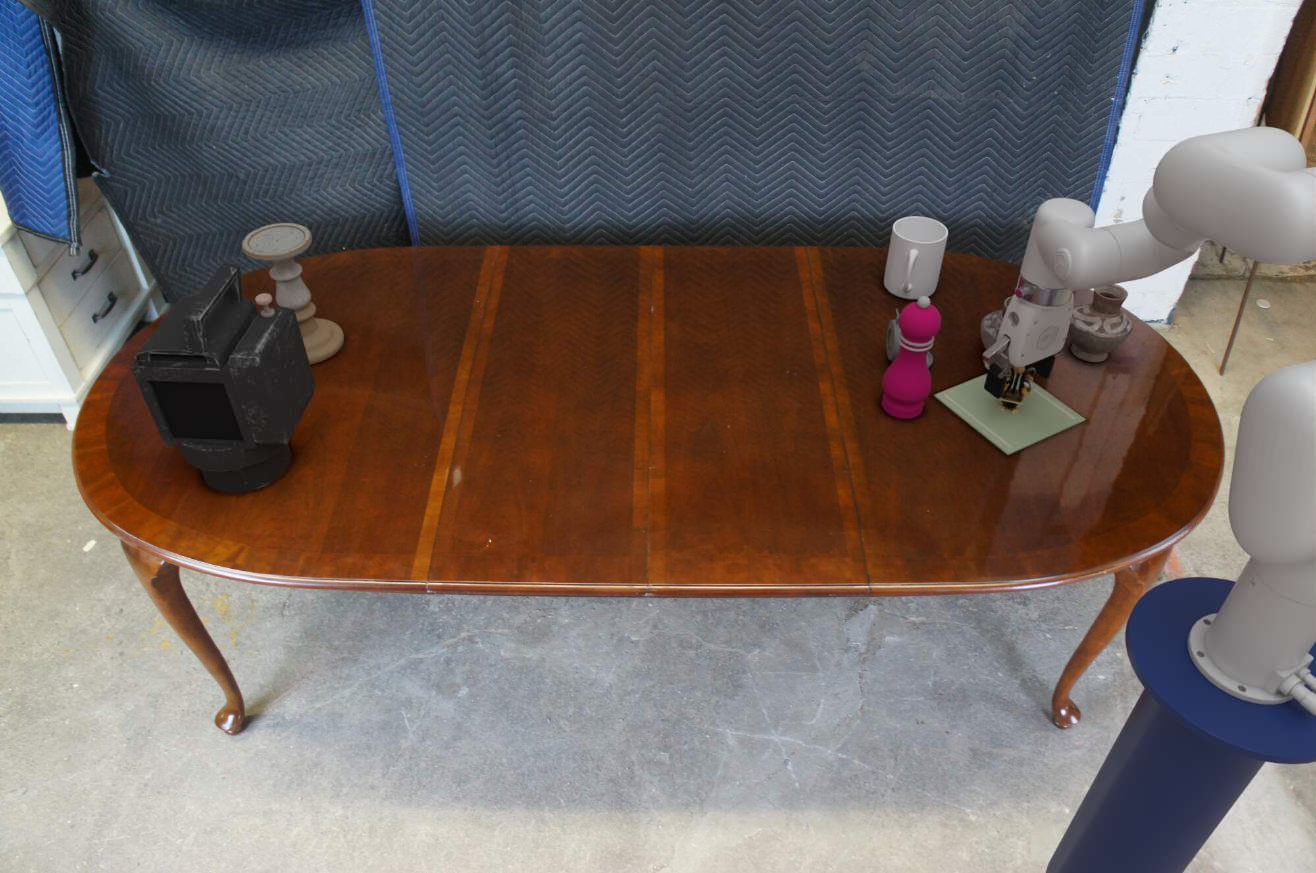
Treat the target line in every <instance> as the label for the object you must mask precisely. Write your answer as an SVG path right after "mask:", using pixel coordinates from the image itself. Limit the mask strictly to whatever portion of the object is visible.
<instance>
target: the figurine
mask: <svg viewBox="0 0 1316 873" xmlns="http://www.w3.org/2000/svg"><path fill="white" fill-rule="evenodd" d="M1003 366H1004V365H1003ZM1015 370H1016V372H1017V375H1016V378H1015V381H1014V376H1015V371H1014V367H1013V366H1012V367H1011V375H1010V371H1008V372H1007V373H1006V375H1005V376H1007V378H1010V379H1009V380H1007V381H1006V385H1005V388H1004V392H1003V395H1002V397H1001V398H999V399H1000V400H1001V401H1000V403H1002V404H1003V405H1001V406H999V408H1000V409H1001V410H1002V411H1005V410H1008V409H1009V411H1011V412H1012V413H1016V412H1018V410H1017V408H1016V407H1018V406H1019V404H1023V400H1024V395H1029V394H1030V392H1031V391H1032V389H1033V384H1032V381H1033V382H1034V377H1035V375H1036V373H1035V372H1036V370H1035V368H1031V367H1029V368H1027V369H1026V367H1024V366H1023V367H1016V368H1015ZM1030 372H1031V373H1030ZM1020 374H1022V376H1021V378H1020V384H1019V390H1018V389H1016V387H1017V384H1018V380H1019V377H1020ZM1013 382H1014V385H1013ZM1024 382H1026V383H1028V384H1029V387H1027V386H1025V385H1024ZM1008 384H1009V385H1008ZM1012 385H1013V388H1011V387H1012Z"/></svg>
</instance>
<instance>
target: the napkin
mask: <svg viewBox="0 0 1316 873" xmlns="http://www.w3.org/2000/svg"><path fill="white" fill-rule="evenodd" d="M1022 374H1023V373H1022ZM1022 374H1020V377H1019V380H1018V384H1017V387H1016V389H1018V390H1019V384H1020V378H1021V376H1022ZM1010 375H1011V371H1010ZM1016 375H1017V372H1016V371H1015V376H1014V381H1015V378H1016ZM986 377H987V373H984V374H983V375H980V376H977V377H975V378H972V379H970V380H968V381H965V382H962V383H960V384H958V385H954V386H953V387H950V388H948V389H945V390H942V391H940V392H938V393H936V394H934V395H933V397H934V398H935V399H937V400H938V401H939V402H940V403H941V404H943V405H944V406H945V407H946V408H948V409H949V410H950V411H952V413H954V414H955V415H957V416H958V417H959V418H960V419H962V420H963V422H965V423H967V424H968V425H969V426H970V427H972V428H973V429H974V430H976V432H978V433H979V434H980V435H981V436H983V437H984V438H985V439H986V440H988V441H989V442H990V443H992V444H993V445H994V446H995V447H997V448H998V449H999V450H1000V451H1002V453H1004V454H1005V455H1007V456H1009V455H1012V454H1015V453H1017V452H1019V451H1021V450H1024V449H1026V448H1027V447H1030V446H1032V445H1034V444H1036V443H1039V442H1041V441H1043V440H1046V439H1047V438H1048V439H1049V438H1050V437H1052V436H1055V435H1057V434H1059V433H1061V432H1064V431H1066V430H1068V429H1070V428H1072V427H1075V426H1077V425H1078V424H1081V423H1083V422H1085V421H1086V418H1085V417H1083V416H1082V415H1081V414H1079V413H1078V412H1076V411H1075V410H1073V409H1072V408H1070V406H1068V405H1066V404H1065V403H1063V401H1060V400H1059V399H1058V398H1057V397H1055V396H1054V395H1052V394H1051V393H1050V392H1048V391H1047V390H1045V389H1044V388H1042V386H1040V385H1039V384H1037V383H1036V382H1034V380H1033V381H1032V384H1033V389H1032V391H1031V392H1030V394H1029V395H1024V400H1023V404H1019V406H1018V407H1016V408H1017V410H1018V412H1016V413H1012V412H1011V411H1009V409H1008V410H1005V411H1002V410H1001V409H1000V408H999V406H1001V405H1003V404H1002V403H1000V401H1001V400H1000V399H997V398H996V397H994V396H993V395H992V394H990V393H989V392H988V391H986V390H985V389H984V384H985V381H986ZM1009 379H1010V378H1007V380H1009ZM1008 385H1009V384H1008ZM1013 385H1014V382H1013ZM1013 385H1012V387H1011V388H1013ZM1024 385H1025V386H1027V387H1029V384H1028V383H1026V382H1024Z"/></svg>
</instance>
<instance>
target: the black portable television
mask: <svg viewBox="0 0 1316 873" xmlns="http://www.w3.org/2000/svg"><path fill="white" fill-rule="evenodd" d="M241 272H242V271H241V264H235V263H230V262H223V263H222V264H221V265H220V266H219V267H218V269H217V270H216V271H215V272H214V274H213V275H212V276H211V278H210V279H209V280H208V282H207V283H206V284H205V285H204V286H203V288H202V289H201V291H200V292H199V294H193V295H188V296H187V295H186V296H183V297H180V298H178V300H177V301H176V303H175V304H174V305H173V306H172V308H170V310H169V311H168V313H167V314H166V315H165V316H164V318H163V319H162V321H161V322H160V323H159V324H158V326H156V327H155V329H154V331H153V332H152V333H151V334H150V336H149V337H148V338H147V339H146V341H145V342H144V343H143V344H142V346H141V347H140V349H139V350H138V351H137V352H136V354H135V355H134V360H135V361H134V362H133V363H132V364H131V366H130V370H131V372H132V374H133V376H134V378H135V381H136V383H137V386H138V388H139V390H140V392H141V395H142V397H143V399H144V402H145V404H146V405H147V408H148V410H149V413H150V415H151V418H152V420H153V422H154V425H155V426H156V429H157V431H158V433H159V436H160V439H161V441H162V443H163V445H164V446H175V447H176V446H178V449H179V451H180V453H181V455H182V457H183V459H184V460H185V461H186V462H187V463H188V464H189V465H191V466H193V467H195V468H197V469H199V470H200V472H201V474H202V477H203V479H204V481H205V483H206V484H207V485H208V486H209V487H211V488H212V489H213V490H216V491H220V492H222V493H229V494H240V493H246V492H251V491H254V490H259V489H260V488H264V487H266V486H269V484H271V483H274V482H275V481H276V480H277V479H279V478H280V477H281V476H282V475H283V474H284V473H285V472H286V471H287V469H288V467H289V466H290V463H291V460H292V453H291V449H290V446H289V441H290V439H291V437H292V436H293V434H294V432H295V430H296V429H297V426H298V424H299V423H300V421H301V418H302V416H303V415H304V413H305V411H306V409H307V407H308V405H309V403H310V402H311V400H312V398H313V396H314V394H315V390H316V384H317V383H316V380H315V377H314V374H313V370H312V365H310V363H309V359H308V356H307V352H306V349H305V345H304V342H303V338H302V335H301V331H300V328H299V324H298V321H297V317H296V314H295V310H294V309H292V308H290V307H280V306H270V303H272V302H273V296H272V295H271V294H270V293H267V292H263V293H260V294H258V295H257V296H256V297H255V298H254V301H255V303H254V301H252V300H249V299H247V298H244V294H243V283H242V273H241ZM257 305H259V306H262V307H261V308H260V310H259V311H258V307H257Z"/></svg>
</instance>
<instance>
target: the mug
mask: <svg viewBox="0 0 1316 873" xmlns="http://www.w3.org/2000/svg"><path fill="white" fill-rule="evenodd" d="M948 236H949V230H948V227H946V226H945V225H944V224H943V223H942V222H941V221H938V220H936V219H934V218H930V217H926V216H918V215H916V216H905V217H902V218H899V219H897V220H896V221H895V222H894V223H893V225H892V230H891V235H890V240H889V247H888V251H887V252H888V253H887V258H886V265H885V269H884V270H885V271H884V277H883V285H884V287H885V289H886V290H887V291H888V292H889V293H890V294H891V295H893V296H895V297H898V298H901V299H903V300H909V301H910V300H911V301H913V300H914V301H915V300H916V301H918V299H919V298H920V297H921V296H927V297H928V298H929V297H930V296H932V295H933V294H934V293H935V291H936V289H937V286H938V284H939V283H938V282H939V279H940V273H941V269H942V264H943V260H944V255H945V250H946V246H947V240H948Z"/></svg>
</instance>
